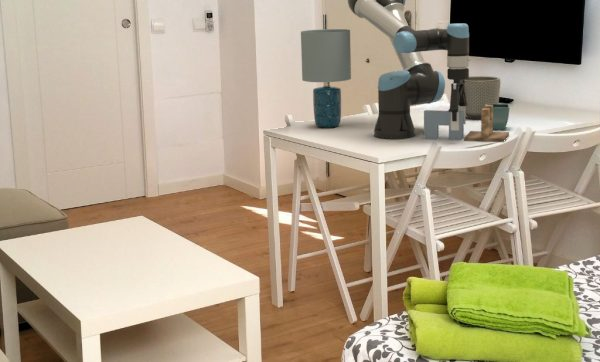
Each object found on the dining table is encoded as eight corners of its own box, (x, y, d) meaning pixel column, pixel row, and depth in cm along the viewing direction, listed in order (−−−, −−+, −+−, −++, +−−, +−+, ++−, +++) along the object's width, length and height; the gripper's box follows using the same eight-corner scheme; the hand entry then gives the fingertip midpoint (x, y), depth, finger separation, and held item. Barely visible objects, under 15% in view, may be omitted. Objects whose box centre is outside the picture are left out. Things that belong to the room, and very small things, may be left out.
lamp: (317, 121, 369) (314, 29, 361) (359, 123, 360) (358, 29, 352) (295, 129, 353) (291, 32, 344) (339, 131, 344) (336, 32, 335)
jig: (464, 140, 318) (464, 109, 315) (470, 134, 330) (470, 104, 327) (504, 142, 313) (505, 110, 311) (508, 135, 325) (509, 104, 323)
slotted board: (423, 138, 325) (423, 111, 322) (425, 137, 327) (425, 110, 325) (462, 139, 320) (462, 112, 318) (463, 138, 322) (463, 111, 320)
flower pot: (509, 131, 334) (509, 107, 332) (485, 130, 336) (485, 107, 334) (508, 126, 342) (509, 103, 340) (485, 126, 344) (485, 103, 342)
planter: (498, 121, 355) (499, 81, 352) (454, 120, 360) (454, 81, 356) (501, 114, 371) (501, 75, 368) (459, 113, 376) (459, 75, 372)
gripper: (462, 71, 303) (462, 133, 308) (474, 64, 326) (474, 121, 331) (440, 71, 306) (441, 132, 310) (453, 64, 329) (454, 121, 333)
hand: (458, 127), depth 320 cm, fingers open, 13 cm apart
